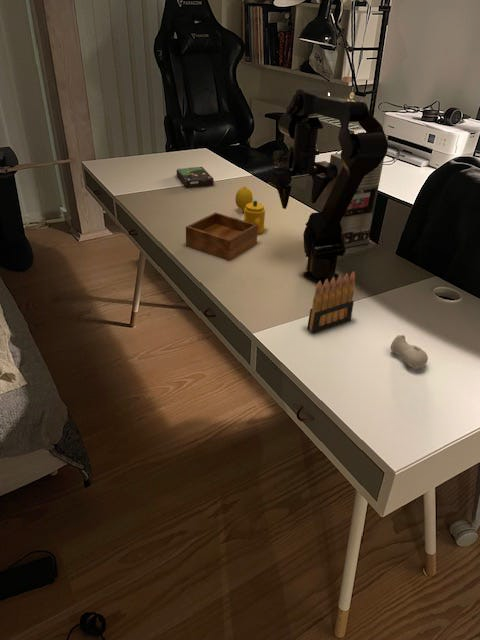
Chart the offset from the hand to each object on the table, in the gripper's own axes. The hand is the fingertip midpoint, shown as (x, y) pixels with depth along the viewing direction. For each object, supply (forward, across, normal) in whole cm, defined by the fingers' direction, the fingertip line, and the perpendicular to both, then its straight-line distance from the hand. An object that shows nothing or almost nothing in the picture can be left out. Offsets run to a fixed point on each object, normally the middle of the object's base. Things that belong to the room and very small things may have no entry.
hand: (298, 205), depth 131 cm
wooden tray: (+13, +16, -12) cm, 24 cm away
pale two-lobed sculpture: (+13, +8, +50) cm, 53 cm away
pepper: (+13, +3, -17) cm, 21 cm away
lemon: (+13, -2, -32) cm, 34 cm away
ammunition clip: (+13, +14, +34) cm, 39 cm away
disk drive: (+13, -1, -65) cm, 67 cm away
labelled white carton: (+13, -16, +2) cm, 21 cm away
